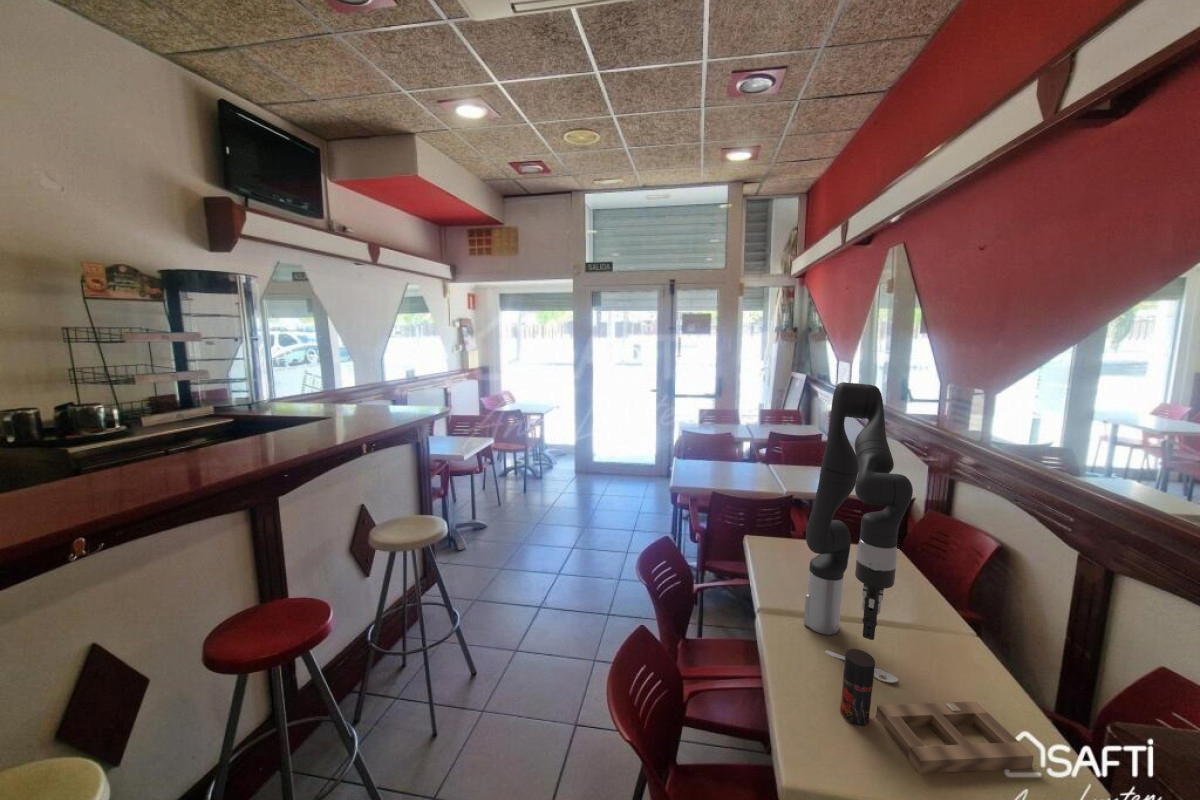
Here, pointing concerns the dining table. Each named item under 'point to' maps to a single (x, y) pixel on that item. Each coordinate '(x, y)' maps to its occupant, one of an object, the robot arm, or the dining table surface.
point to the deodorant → (857, 687)
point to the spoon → (876, 671)
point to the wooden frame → (953, 738)
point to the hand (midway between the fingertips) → (869, 627)
